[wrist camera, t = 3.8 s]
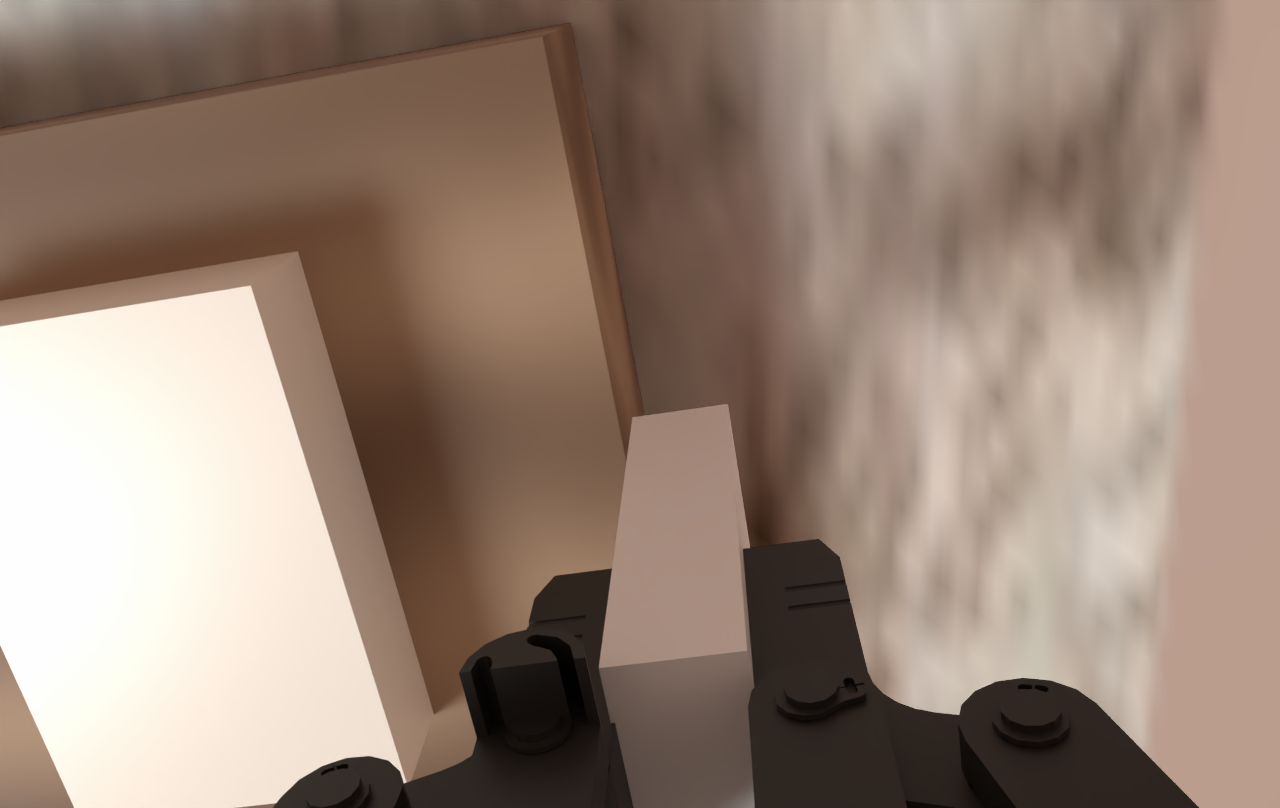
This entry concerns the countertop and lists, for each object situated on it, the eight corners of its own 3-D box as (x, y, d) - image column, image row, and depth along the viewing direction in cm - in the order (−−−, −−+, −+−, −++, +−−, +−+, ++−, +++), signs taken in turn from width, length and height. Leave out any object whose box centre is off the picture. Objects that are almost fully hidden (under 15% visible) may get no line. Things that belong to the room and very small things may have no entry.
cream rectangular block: (433, 714, 21) (408, 788, 19) (134, 750, 21) (82, 824, 19) (297, 251, 17) (250, 285, 16) (-50, 308, 18) (-136, 349, 16)
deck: (691, 669, 25) (691, 794, 21) (73, 743, 26) (-29, 871, 23) (570, 22, 20) (542, 36, 16) (-185, 162, 21) (-370, 204, 18)
